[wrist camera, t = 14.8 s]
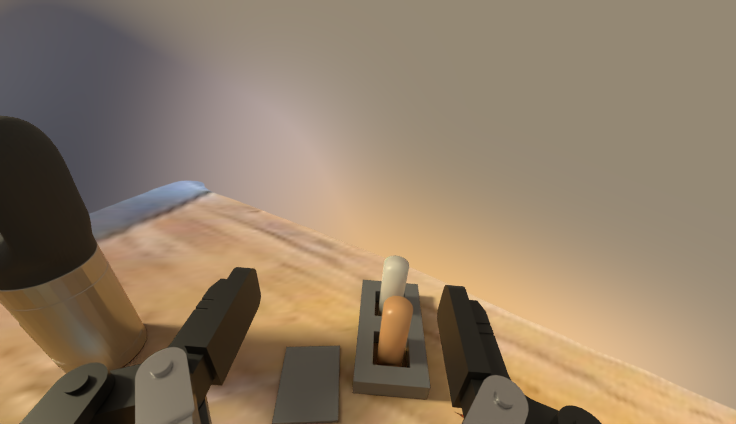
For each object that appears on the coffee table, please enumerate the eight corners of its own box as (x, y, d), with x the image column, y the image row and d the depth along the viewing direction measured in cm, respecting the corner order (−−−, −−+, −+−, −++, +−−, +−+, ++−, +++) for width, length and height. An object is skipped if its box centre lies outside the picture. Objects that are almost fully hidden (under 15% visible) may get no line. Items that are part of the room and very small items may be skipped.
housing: (352, 392, 39) (355, 339, 32) (362, 291, 54) (365, 240, 47) (426, 399, 38) (444, 346, 32) (415, 295, 54) (425, 245, 47)
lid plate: (273, 427, 35) (272, 423, 35) (287, 350, 44) (286, 347, 43) (338, 423, 36) (338, 420, 35) (339, 349, 44) (339, 345, 44)
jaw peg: (376, 372, 41) (383, 318, 35) (376, 348, 44) (383, 294, 38) (402, 374, 41) (414, 321, 35) (401, 350, 44) (412, 297, 38)
